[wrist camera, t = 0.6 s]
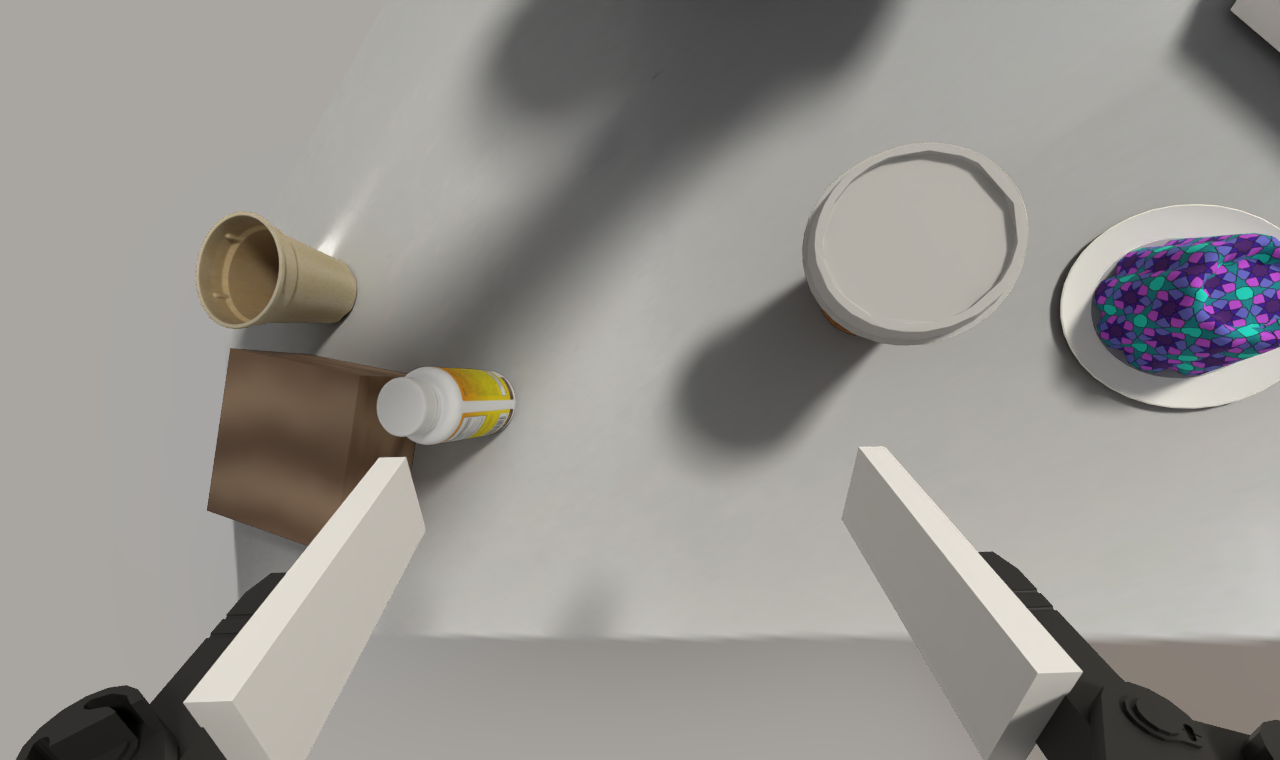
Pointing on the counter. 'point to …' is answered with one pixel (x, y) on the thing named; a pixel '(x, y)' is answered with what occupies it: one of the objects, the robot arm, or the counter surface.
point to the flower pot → (268, 276)
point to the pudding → (1180, 306)
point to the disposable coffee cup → (915, 244)
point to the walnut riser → (297, 439)
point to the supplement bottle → (446, 404)
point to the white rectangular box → (1261, 18)
